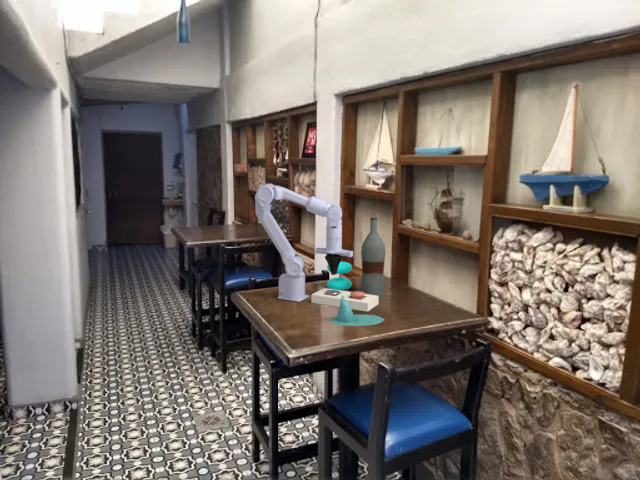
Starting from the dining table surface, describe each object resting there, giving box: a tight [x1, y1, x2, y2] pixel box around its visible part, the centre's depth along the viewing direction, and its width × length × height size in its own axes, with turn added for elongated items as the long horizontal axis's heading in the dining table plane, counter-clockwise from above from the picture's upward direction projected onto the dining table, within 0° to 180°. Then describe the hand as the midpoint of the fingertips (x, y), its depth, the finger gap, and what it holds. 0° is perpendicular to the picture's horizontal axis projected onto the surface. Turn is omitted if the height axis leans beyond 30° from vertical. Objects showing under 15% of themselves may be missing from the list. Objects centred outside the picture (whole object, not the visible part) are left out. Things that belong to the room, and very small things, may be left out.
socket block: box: [310, 287, 380, 313], centre depth 174 cm, size 22×10×3 cm, turn 62°
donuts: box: [326, 261, 353, 291], centre depth 194 cm, size 10×10×10 cm
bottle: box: [360, 216, 386, 299], centre depth 181 cm, size 9×9×30 cm
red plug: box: [350, 290, 365, 300], centre depth 171 cm, size 5×5×3 cm
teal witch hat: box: [330, 296, 385, 327], centre depth 155 cm, size 12×20×9 cm, turn 94°
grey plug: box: [325, 290, 340, 296], centre depth 176 cm, size 5×5×3 cm
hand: (333, 274), depth 178 cm, fingers closed
